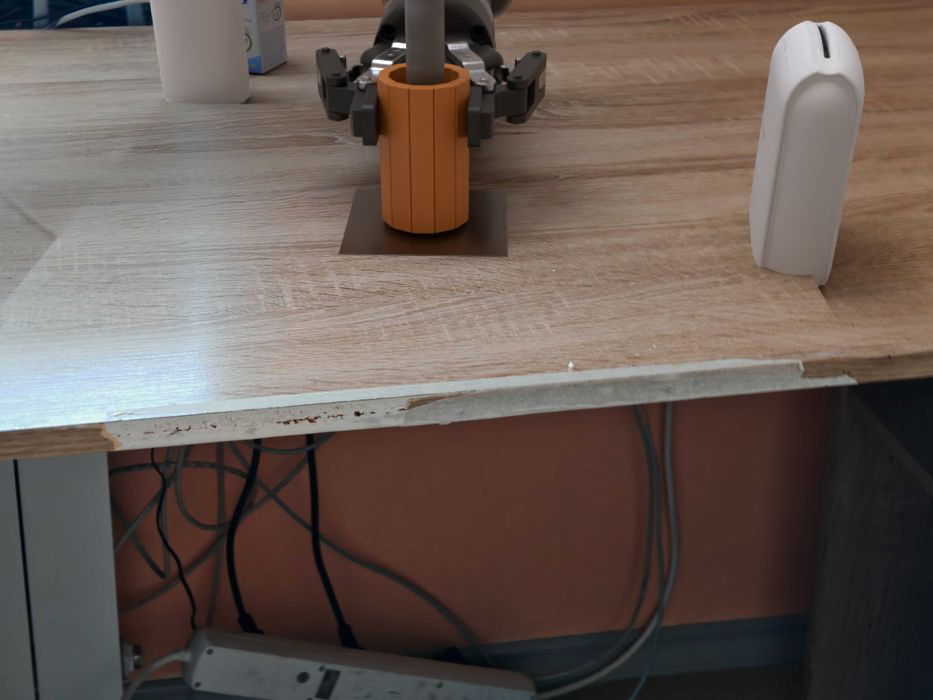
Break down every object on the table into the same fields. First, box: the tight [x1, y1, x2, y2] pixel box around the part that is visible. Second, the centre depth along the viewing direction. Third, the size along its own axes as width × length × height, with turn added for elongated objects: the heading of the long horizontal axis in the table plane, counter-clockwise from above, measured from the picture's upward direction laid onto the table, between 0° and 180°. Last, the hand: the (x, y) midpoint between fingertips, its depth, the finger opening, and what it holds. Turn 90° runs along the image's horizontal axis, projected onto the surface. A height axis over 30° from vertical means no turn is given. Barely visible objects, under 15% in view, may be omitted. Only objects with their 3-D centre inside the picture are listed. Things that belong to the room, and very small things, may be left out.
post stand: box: [338, 0, 509, 258], centre depth 57 cm, size 9×9×17 cm
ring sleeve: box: [377, 63, 470, 233], centre depth 59 cm, size 5×5×8 cm
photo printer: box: [748, 20, 866, 287], centre depth 57 cm, size 10×4×12 cm, turn 169°
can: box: [149, 0, 251, 105], centre depth 79 cm, size 6×6×12 cm
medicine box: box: [242, 0, 288, 75], centre depth 89 cm, size 8×4×9 cm, turn 70°
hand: (421, 128), depth 55 cm, fingers closed on ring sleeve, 4 cm apart
